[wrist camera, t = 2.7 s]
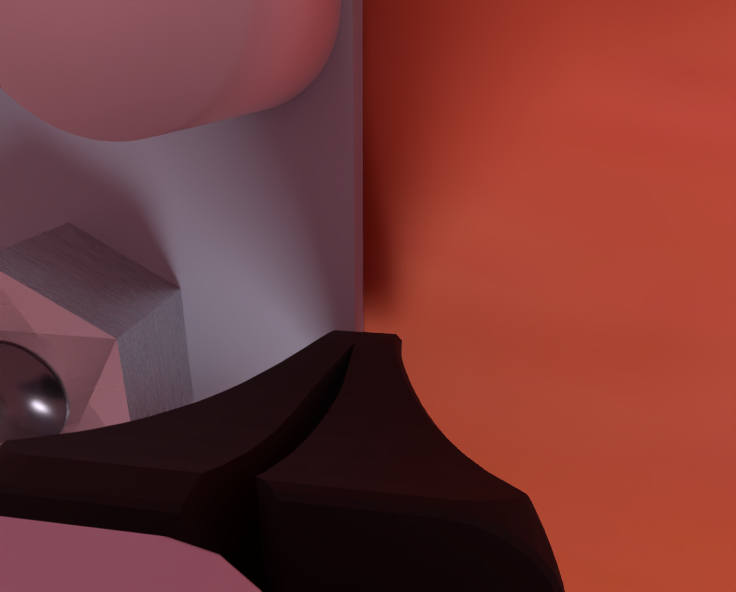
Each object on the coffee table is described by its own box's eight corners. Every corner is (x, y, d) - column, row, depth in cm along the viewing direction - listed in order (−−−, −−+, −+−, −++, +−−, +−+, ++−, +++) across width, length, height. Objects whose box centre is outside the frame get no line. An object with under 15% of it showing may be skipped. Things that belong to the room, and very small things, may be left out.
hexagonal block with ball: (240, 377, 13) (190, 445, 11) (69, 458, 15) (-8, 533, 13) (115, 192, 12) (29, 224, 10) (-56, 301, 14) (-165, 351, 11)
